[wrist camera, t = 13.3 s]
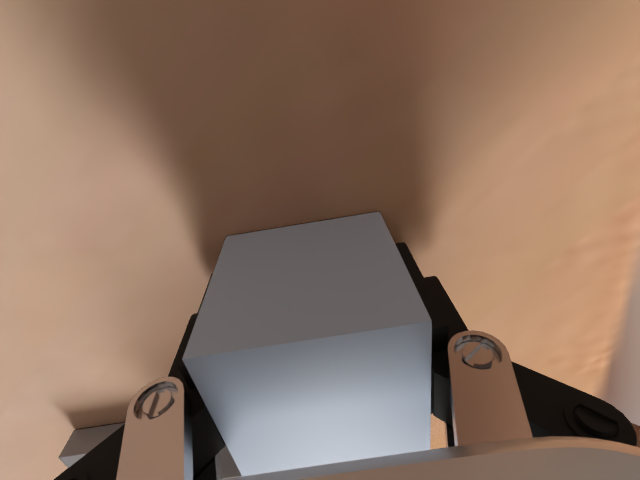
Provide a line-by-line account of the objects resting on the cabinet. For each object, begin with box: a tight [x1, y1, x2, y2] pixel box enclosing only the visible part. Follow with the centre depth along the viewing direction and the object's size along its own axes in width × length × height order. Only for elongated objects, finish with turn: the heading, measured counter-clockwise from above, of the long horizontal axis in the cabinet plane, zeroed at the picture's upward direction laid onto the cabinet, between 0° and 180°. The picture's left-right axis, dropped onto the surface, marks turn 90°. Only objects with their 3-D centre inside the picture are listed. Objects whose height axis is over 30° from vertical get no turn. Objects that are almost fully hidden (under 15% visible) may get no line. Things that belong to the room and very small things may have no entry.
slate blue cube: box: [182, 211, 432, 476], centre depth 10 cm, size 5×5×5 cm
